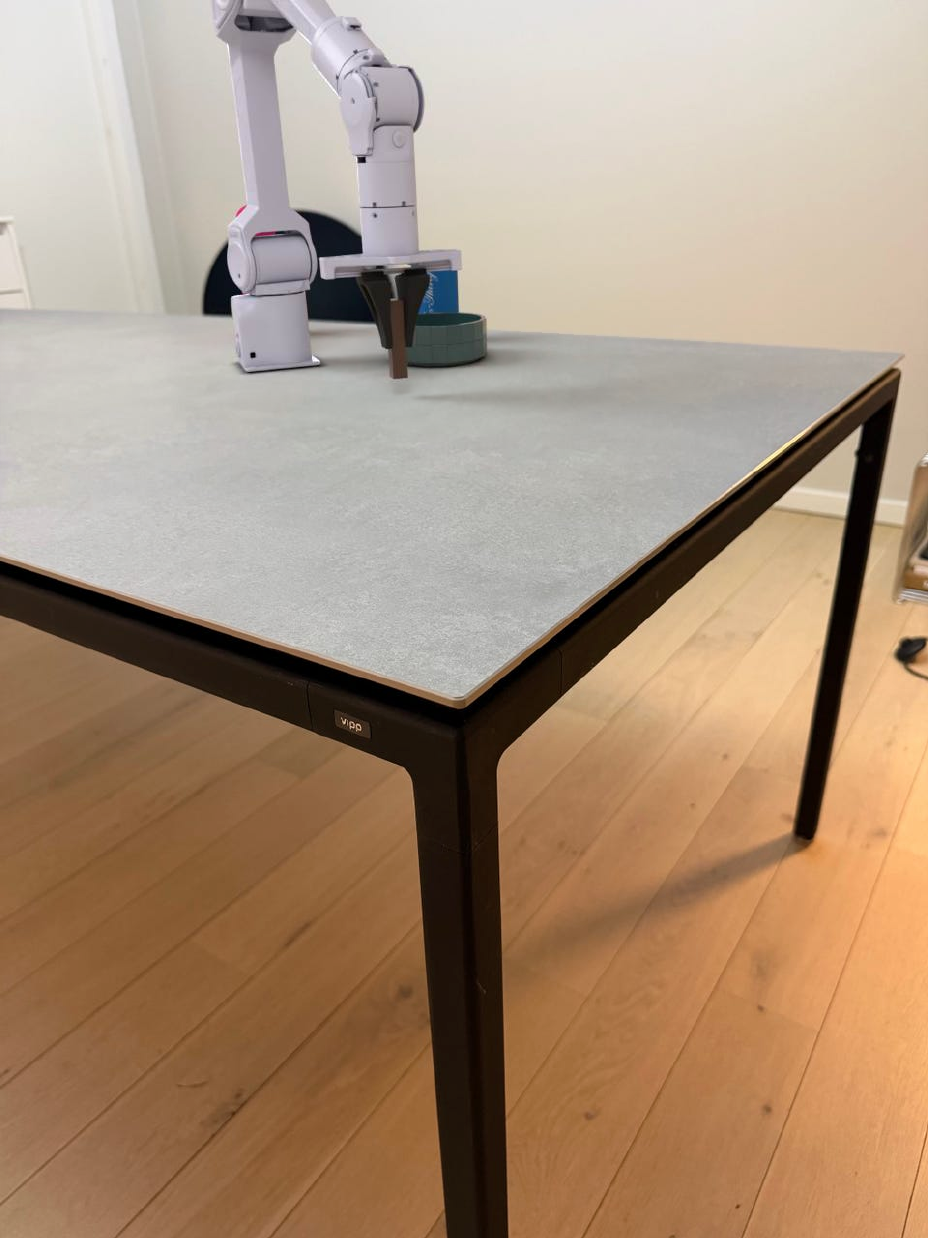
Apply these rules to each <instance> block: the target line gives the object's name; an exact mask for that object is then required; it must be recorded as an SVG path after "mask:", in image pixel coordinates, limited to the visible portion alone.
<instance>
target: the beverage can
mask: <svg viewBox="0 0 928 1238" xmlns="http://www.w3.org/2000/svg"><path fill="white" fill-rule="evenodd" d="M423 250H424V249H419V251H423ZM437 250H445V249H444V248H443V249H437ZM410 267H419V266H412V265H410ZM458 272H459V270H455V271H452V270H442V271H428V272H427V275H430V285H429V288H428V290H427V292H426V294H425V296H424V299H423V301H422V304H421V307H420V310H419V313H432V312H460V305H459V303H460V302H459V299H460V297H459V273H458ZM419 313H418V314H419Z"/></svg>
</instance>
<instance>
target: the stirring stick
mask: <svg viewBox="0 0 928 1238" xmlns="http://www.w3.org/2000/svg"><path fill="white" fill-rule="evenodd" d="M390 315H391V326H392V335H393V349H387V353H388V354H387V355H388V370H389V377H390V378H391V379H392V380H402V379H408V378H409V373H408V364H407V353H406V340H405V318H404V300H402V299H400V298H398V297H396V298H391V304H390Z"/></svg>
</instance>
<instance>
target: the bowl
mask: <svg viewBox="0 0 928 1238" xmlns="http://www.w3.org/2000/svg"><path fill="white" fill-rule="evenodd" d="M487 326H488V325H487V316H486V315H483V314H480V313H474V312H464V311H463V312H462V311H459V312H432V313H419V314H418V317H417V321H416V325H415V330H414V337H413V347H406V353H407V365H410V366H415V367H428V368H429V367H432V368H433V367H435V368H436V367H451V366H453V367H454V366H460V365H465V364H471V363H473V362H475V361H477V360H478V359H479V358H483V357H484V356H486V355H487V354H488V337H487V336H488V330H487V329H488V328H487Z"/></svg>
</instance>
